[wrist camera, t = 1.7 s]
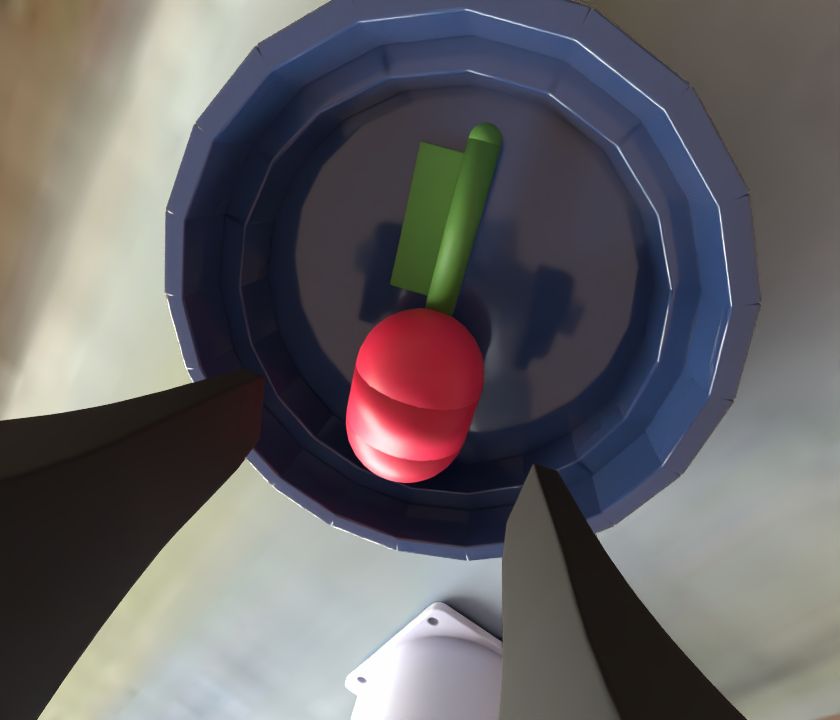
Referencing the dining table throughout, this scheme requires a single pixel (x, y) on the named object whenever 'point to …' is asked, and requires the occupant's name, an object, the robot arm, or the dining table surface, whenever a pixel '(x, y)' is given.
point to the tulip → (426, 324)
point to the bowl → (489, 260)
